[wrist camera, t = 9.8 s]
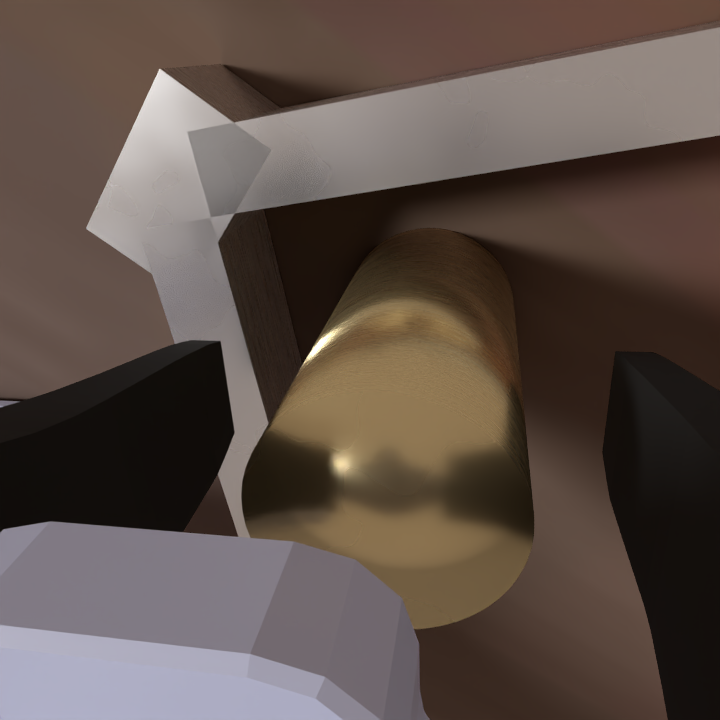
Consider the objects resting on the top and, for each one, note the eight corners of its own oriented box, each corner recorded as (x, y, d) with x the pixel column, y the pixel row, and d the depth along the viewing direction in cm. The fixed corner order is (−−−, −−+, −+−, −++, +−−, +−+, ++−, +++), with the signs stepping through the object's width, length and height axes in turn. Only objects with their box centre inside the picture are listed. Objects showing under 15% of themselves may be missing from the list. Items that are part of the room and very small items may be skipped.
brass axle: (509, 385, 17) (525, 642, 9) (353, 379, 17) (258, 615, 10) (518, 227, 15) (545, 399, 8) (344, 228, 16) (222, 385, 8)
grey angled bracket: (774, 56, 13) (852, 59, 10) (322, 548, 20) (296, 626, 17) (387, -268, 12) (357, -362, 9) (61, 379, 19) (-10, 434, 16)
